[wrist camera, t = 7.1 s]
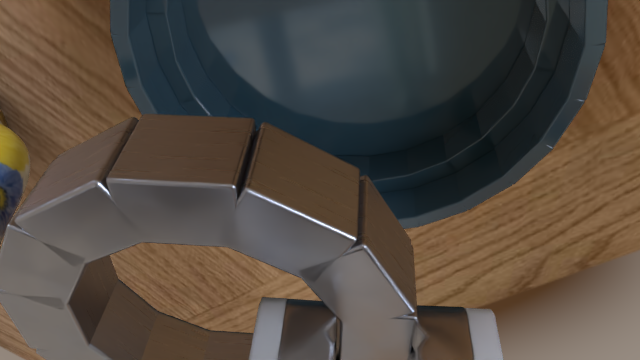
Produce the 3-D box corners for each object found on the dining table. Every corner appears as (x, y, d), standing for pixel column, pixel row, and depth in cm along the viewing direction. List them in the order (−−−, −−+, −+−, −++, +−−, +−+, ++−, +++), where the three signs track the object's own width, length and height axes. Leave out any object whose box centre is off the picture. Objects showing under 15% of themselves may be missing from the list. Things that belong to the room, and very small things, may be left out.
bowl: (189, 165, 30) (165, 224, 26) (98, -238, 18) (34, -224, 15) (518, 177, 28) (537, 241, 25) (640, -248, 17) (704, -235, 14)
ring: (99, 350, 15) (71, 415, 14) (-23, 105, 10) (-88, 170, 8) (393, 371, 15) (394, 440, 13) (432, 123, 9) (440, 196, 8)
